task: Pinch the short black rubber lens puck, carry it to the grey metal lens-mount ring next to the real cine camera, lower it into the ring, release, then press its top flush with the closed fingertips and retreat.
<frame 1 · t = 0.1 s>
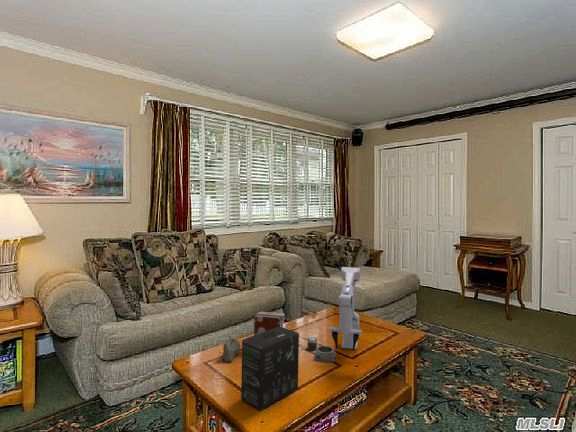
hand: (345, 348, 163), 10 cm above the table, fingers open, 7 cm apart
mineral rock: (232, 357, 176), on the table
headset box: (270, 394, 143), on the table
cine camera: (273, 351, 182), on the table
lens: (312, 348, 186), on the table
mount: (324, 357, 176), on the table
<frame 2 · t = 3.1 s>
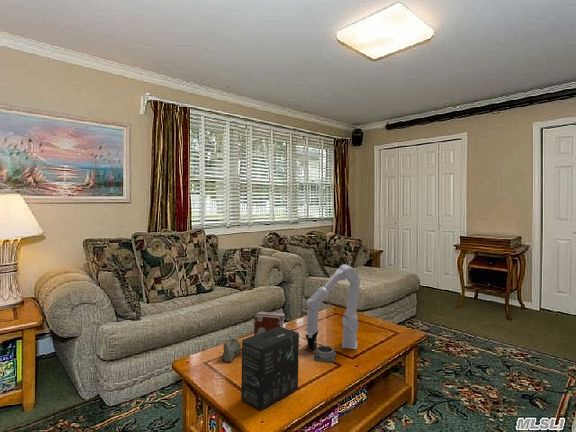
hand: (312, 346, 186), 1 cm above the table, fingers closed on lens, 5 cm apart
lens: (312, 348, 186), on the table, touching gripper
everything else where it was.
when the fingers open (4 cm above the table, at t = 6.2 s): lens drops 1 cm, resting on mount.
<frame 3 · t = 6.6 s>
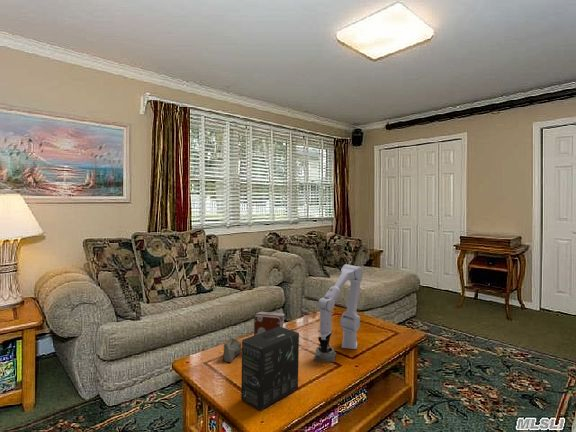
hand: (325, 348, 176), 4 cm above the table, fingers open, 7 cm apart
lens: (324, 354, 176), point 1 cm above the table, touching mount
everything else where it was.
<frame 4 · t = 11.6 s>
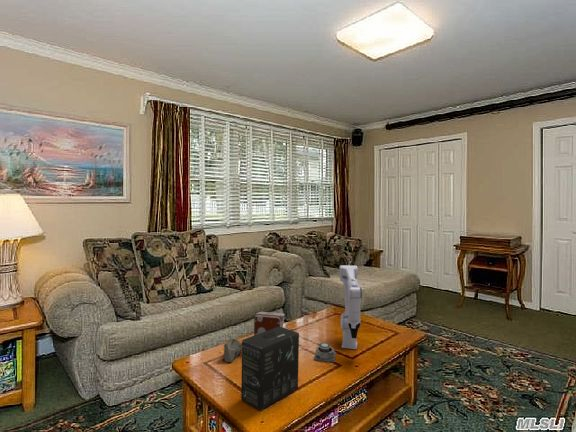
hand: (354, 337, 175), 10 cm above the table, fingers closed
nothing on the table moved.
at the end: lens 0.4 cm off-centre on the mount, point 1.1 cm above the mount's base; lens tilted 2°; the gripper is holding nothing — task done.
